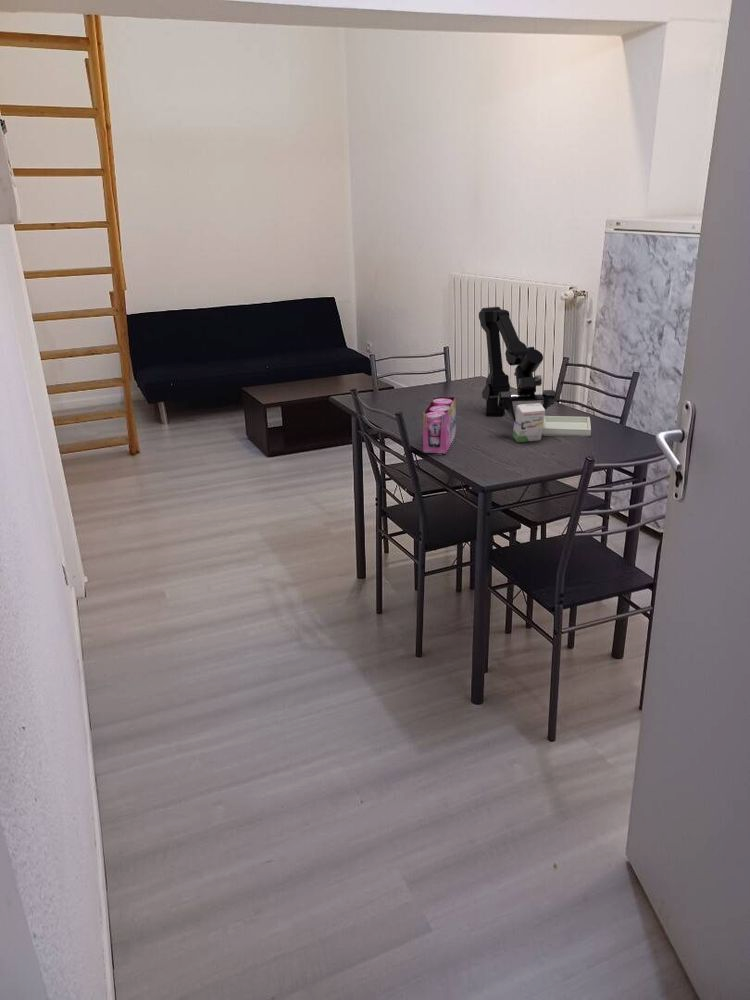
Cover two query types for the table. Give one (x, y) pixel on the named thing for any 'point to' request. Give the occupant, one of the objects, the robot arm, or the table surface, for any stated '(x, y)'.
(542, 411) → the ink box
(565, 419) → the tray
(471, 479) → the table surface
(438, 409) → the gum box
